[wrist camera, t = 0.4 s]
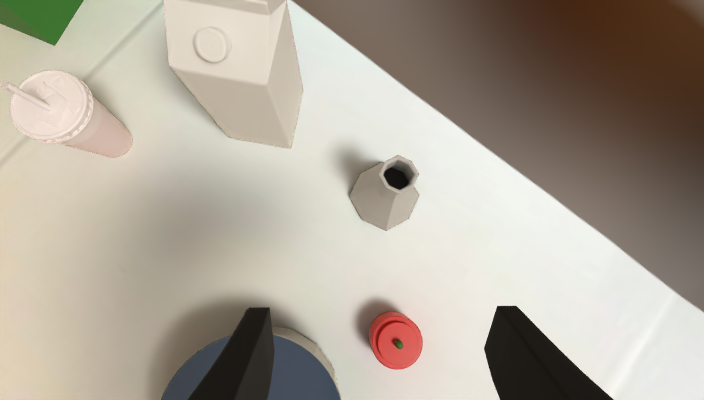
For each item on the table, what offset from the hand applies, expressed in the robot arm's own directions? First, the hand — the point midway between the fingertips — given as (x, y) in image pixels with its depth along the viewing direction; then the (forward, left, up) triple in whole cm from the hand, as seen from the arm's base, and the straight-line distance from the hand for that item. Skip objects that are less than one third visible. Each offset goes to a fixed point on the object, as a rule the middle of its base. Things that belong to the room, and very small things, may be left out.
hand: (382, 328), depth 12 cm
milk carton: (+18, +11, -28) cm, 35 cm away
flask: (+10, -3, -28) cm, 30 cm away
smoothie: (+13, +27, -28) cm, 41 cm away
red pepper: (-5, -5, -28) cm, 28 cm away
